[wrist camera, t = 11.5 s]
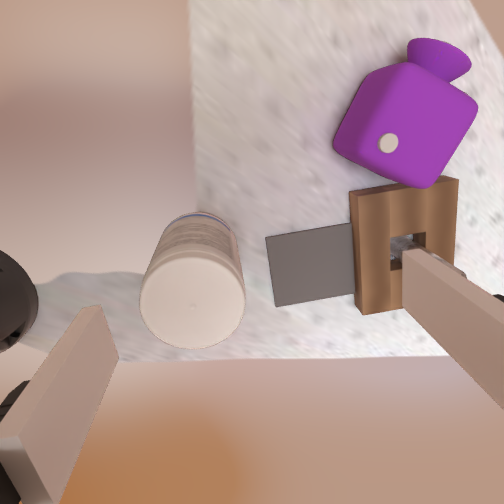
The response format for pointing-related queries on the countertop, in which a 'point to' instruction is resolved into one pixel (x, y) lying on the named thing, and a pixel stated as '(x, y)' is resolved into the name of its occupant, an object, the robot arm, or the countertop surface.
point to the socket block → (393, 225)
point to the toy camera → (409, 115)
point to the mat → (311, 264)
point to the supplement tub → (194, 283)
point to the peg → (407, 244)
